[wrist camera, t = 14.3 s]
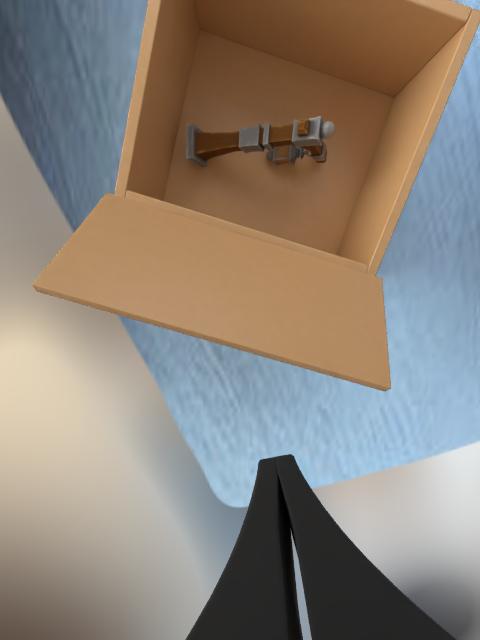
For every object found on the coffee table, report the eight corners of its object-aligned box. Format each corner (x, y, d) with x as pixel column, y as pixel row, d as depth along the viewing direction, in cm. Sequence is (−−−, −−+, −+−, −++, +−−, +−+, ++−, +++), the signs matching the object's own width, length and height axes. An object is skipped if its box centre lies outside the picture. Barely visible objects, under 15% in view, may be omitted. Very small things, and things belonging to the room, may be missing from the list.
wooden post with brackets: (339, 173, 16) (329, 143, 12) (221, 179, 20) (183, 157, 16) (344, 139, 16) (335, 97, 12) (223, 151, 19) (184, 121, 15)
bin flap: (382, 277, 13) (377, 282, 13) (106, 191, 12) (108, 199, 12) (391, 388, 10) (384, 391, 10) (31, 284, 9) (36, 291, 9)
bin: (335, 271, 19) (374, 278, 13) (154, 215, 19) (113, 197, 13) (400, 95, 17) (484, 11, 11) (194, 23, 16) (167, -108, 10)
